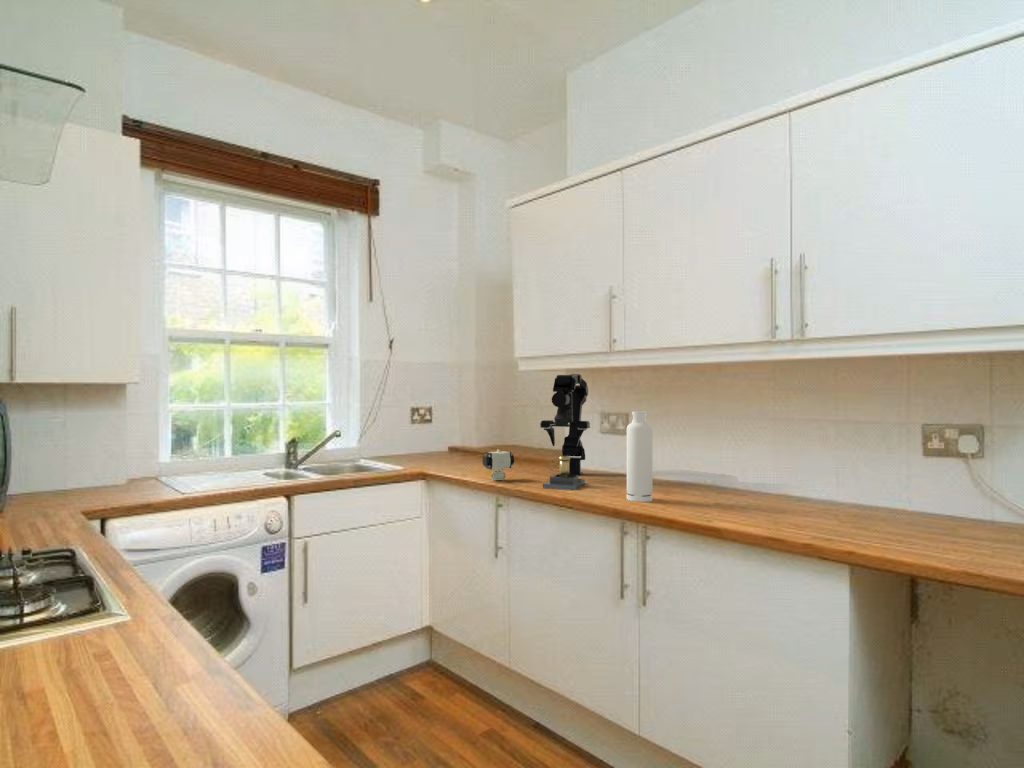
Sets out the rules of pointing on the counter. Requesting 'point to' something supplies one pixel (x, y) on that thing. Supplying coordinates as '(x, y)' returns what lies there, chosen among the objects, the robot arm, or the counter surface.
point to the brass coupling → (564, 466)
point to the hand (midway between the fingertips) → (565, 446)
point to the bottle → (639, 459)
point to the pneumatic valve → (498, 463)
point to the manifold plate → (564, 482)
